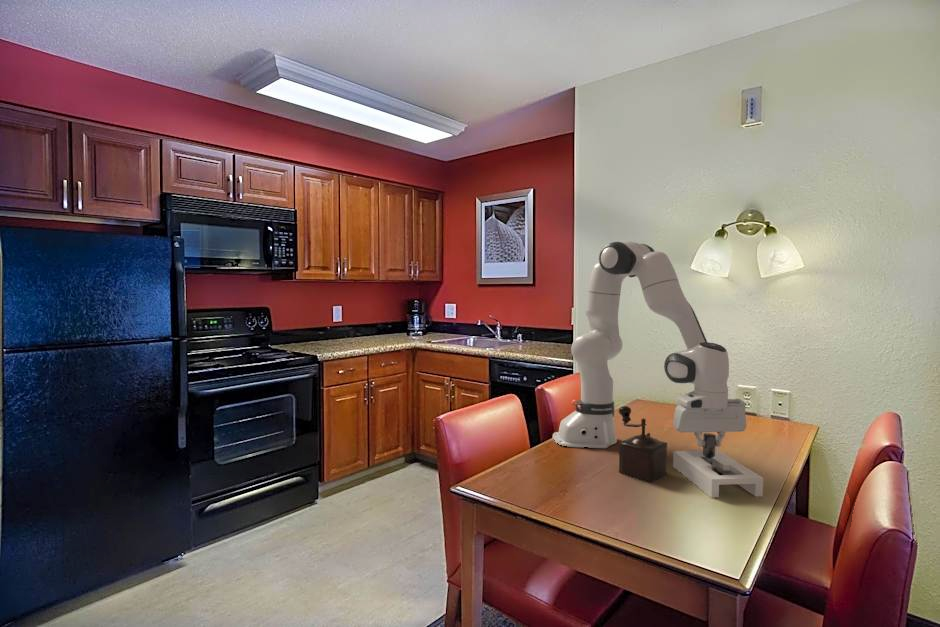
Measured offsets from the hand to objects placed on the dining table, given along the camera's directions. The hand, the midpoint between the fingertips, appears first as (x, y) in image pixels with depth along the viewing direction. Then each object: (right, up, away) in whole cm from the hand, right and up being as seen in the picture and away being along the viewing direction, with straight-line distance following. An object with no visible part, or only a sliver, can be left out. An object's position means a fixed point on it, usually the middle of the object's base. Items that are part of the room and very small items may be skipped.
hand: (708, 446), depth 147 cm
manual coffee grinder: (-20, -9, +5) cm, 22 cm away
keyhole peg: (0, -8, +1) cm, 8 cm away
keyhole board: (0, -9, -3) cm, 9 cm away
